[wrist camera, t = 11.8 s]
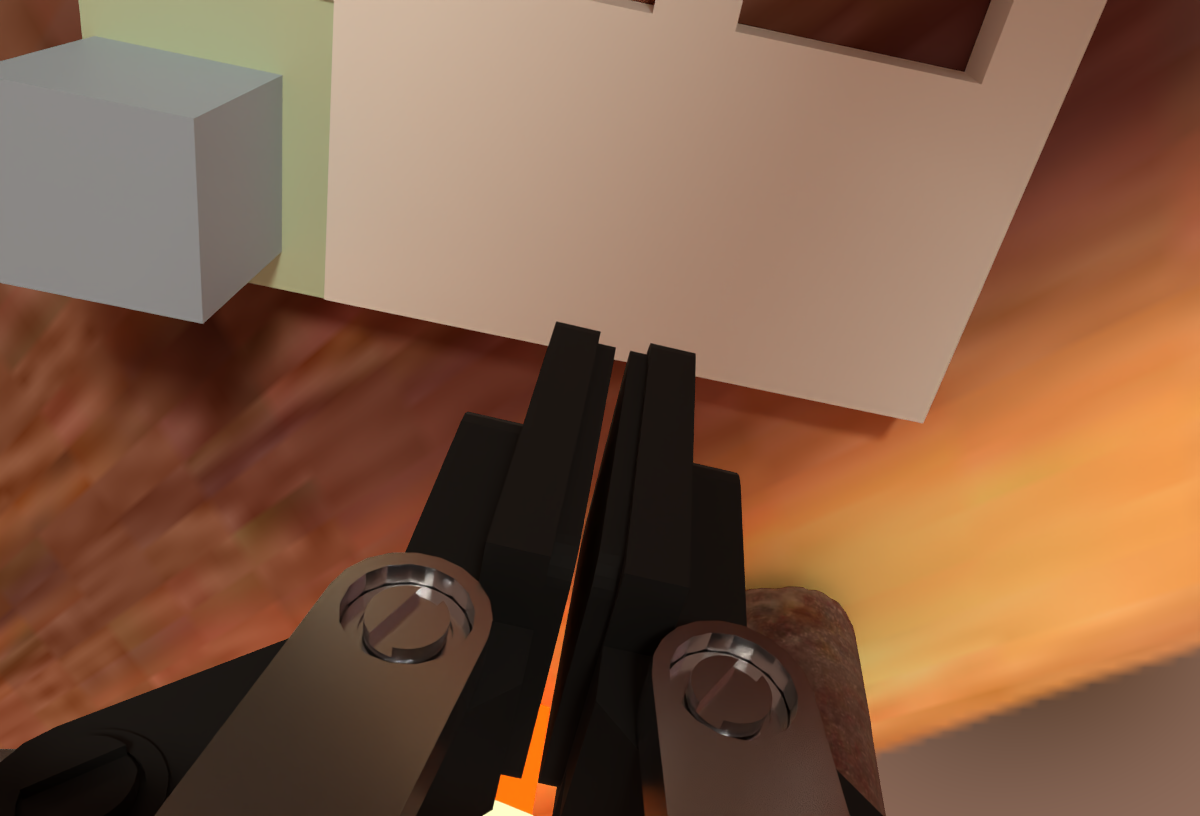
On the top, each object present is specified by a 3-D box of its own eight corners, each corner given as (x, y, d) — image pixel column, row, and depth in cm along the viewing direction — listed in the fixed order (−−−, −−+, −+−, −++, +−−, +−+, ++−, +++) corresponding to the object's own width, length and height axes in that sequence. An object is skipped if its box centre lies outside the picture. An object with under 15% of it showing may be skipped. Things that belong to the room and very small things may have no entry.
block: (94, 35, 29) (-36, 70, 24) (282, 75, 29) (193, 118, 24) (112, 216, 32) (-1, 282, 27) (281, 251, 32) (202, 323, 27)
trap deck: (73, -479, 24) (25, -505, 22) (1176, -234, 25) (1212, -242, 23) (131, 234, 34) (102, 253, 33) (911, 396, 35) (923, 423, 33)
